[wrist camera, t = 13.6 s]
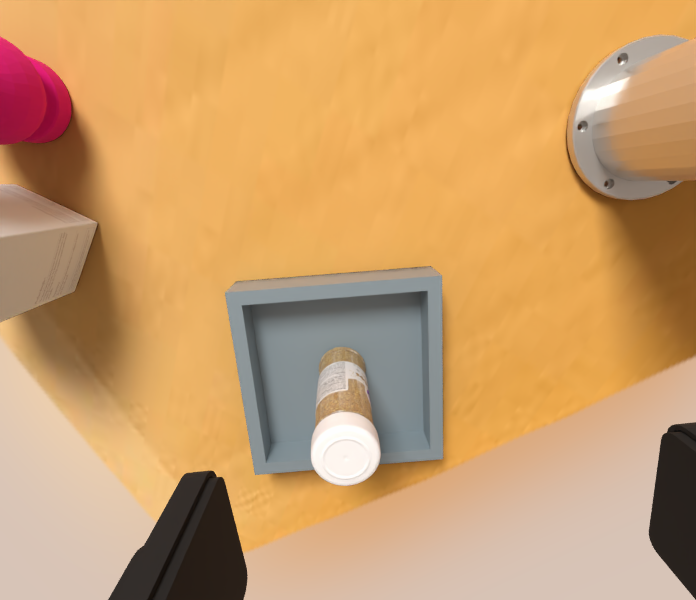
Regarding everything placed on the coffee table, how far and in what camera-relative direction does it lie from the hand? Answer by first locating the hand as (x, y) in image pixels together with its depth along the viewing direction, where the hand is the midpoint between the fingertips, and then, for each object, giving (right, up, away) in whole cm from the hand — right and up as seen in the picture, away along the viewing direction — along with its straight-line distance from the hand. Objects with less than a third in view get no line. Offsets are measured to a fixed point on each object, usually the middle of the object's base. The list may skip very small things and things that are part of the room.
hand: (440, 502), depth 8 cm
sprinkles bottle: (-3, -2, +30) cm, 30 cm away
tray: (-3, -2, +30) cm, 31 cm away
